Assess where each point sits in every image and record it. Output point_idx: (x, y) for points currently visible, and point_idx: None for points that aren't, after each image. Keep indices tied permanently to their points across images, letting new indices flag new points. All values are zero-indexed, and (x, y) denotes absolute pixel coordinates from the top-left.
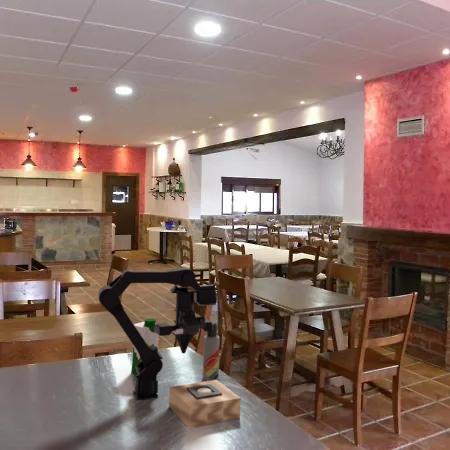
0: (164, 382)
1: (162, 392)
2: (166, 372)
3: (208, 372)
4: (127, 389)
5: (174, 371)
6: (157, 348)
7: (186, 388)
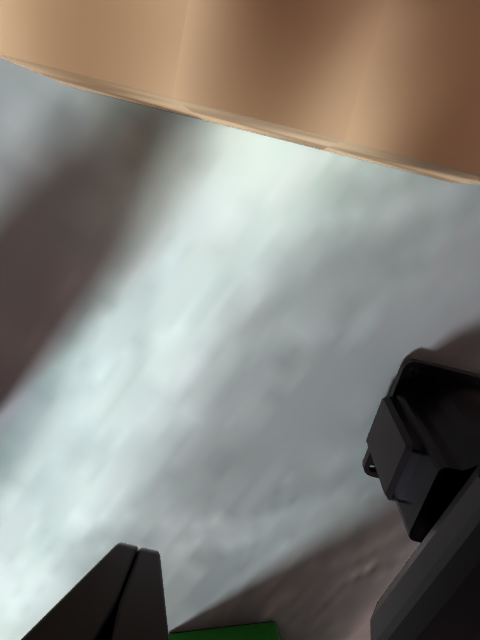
0: (219, 516)
1: (326, 405)
2: None
3: None
4: None
5: None
6: None
7: (424, 25)
